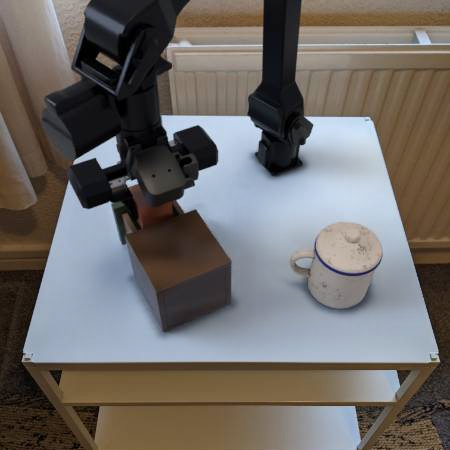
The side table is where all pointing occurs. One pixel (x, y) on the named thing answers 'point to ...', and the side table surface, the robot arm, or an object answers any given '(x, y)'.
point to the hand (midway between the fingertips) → (151, 211)
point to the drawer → (133, 219)
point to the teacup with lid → (340, 264)
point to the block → (149, 209)
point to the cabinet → (180, 269)
